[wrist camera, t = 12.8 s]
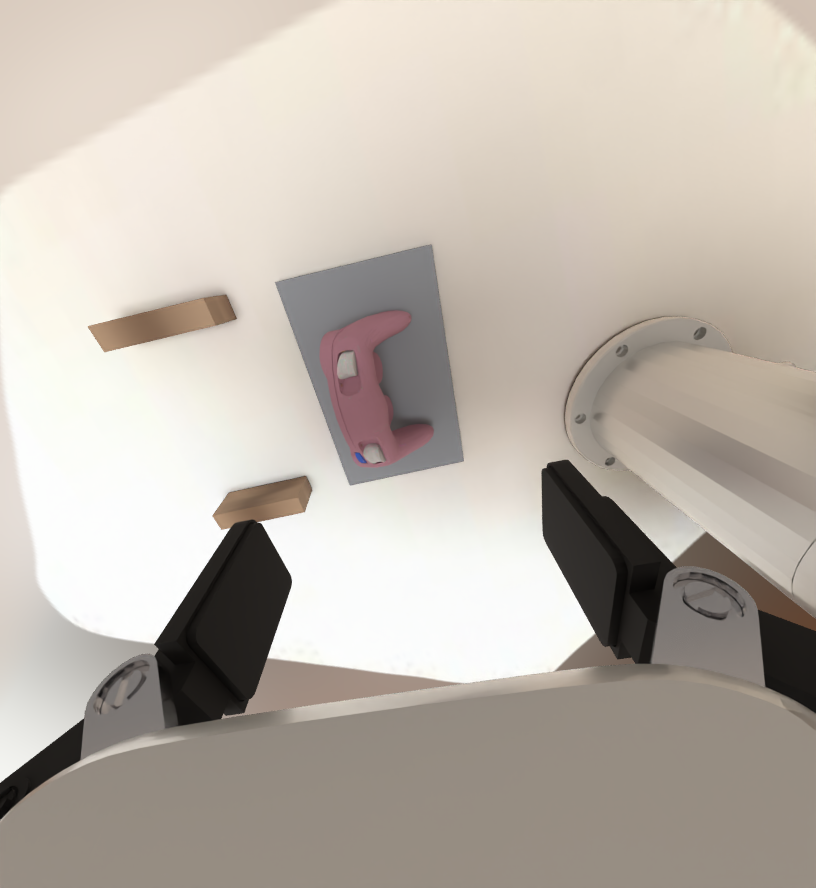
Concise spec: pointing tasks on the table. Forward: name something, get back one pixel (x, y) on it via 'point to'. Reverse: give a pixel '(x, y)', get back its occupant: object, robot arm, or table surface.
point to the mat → (384, 349)
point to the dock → (185, 319)
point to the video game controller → (367, 391)
